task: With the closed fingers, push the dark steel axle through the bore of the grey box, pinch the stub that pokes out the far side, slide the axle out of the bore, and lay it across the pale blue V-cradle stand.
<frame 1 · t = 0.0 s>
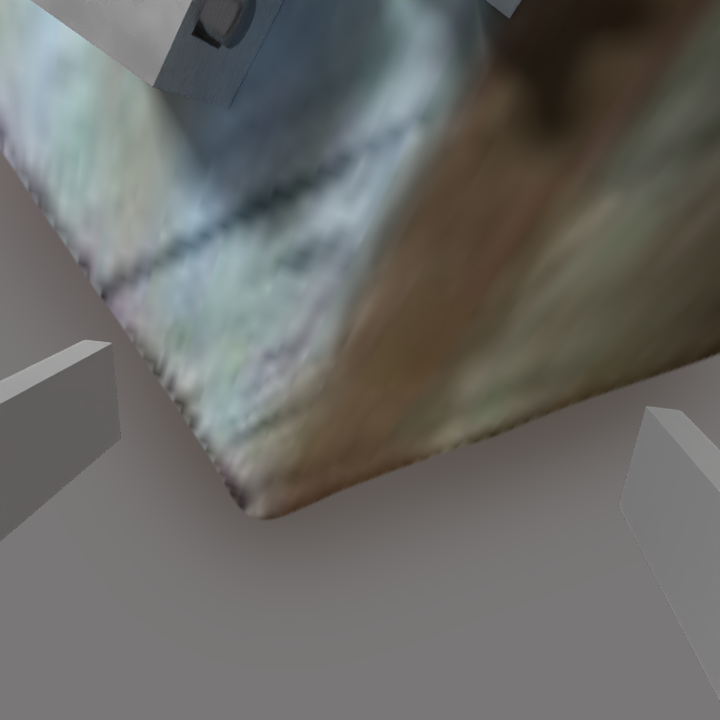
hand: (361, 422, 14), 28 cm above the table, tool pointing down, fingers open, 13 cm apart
grey box: (213, 1, 36), on the table
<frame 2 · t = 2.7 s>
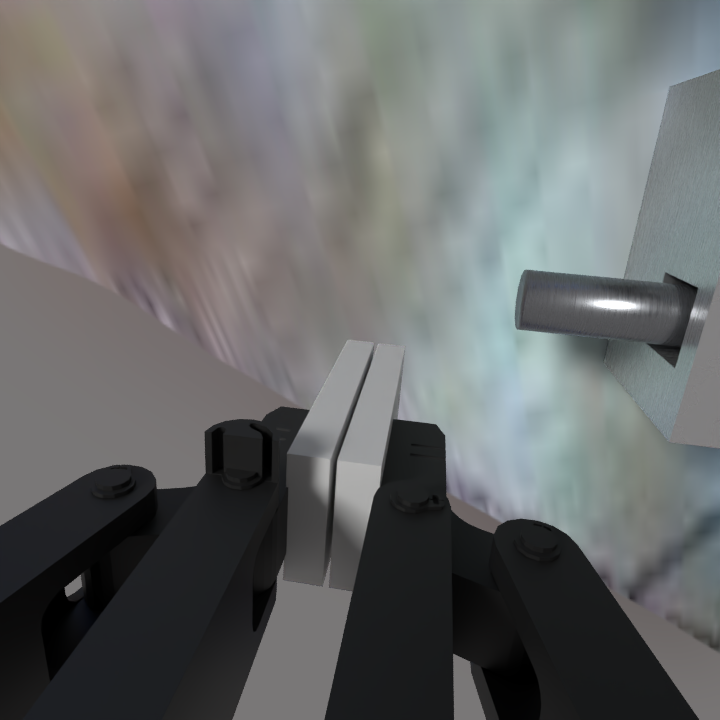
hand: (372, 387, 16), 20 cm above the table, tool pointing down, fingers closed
axle: (675, 310, 28), point 6 cm above the table, touching grey box
grey box: (690, 292, 33), on the table
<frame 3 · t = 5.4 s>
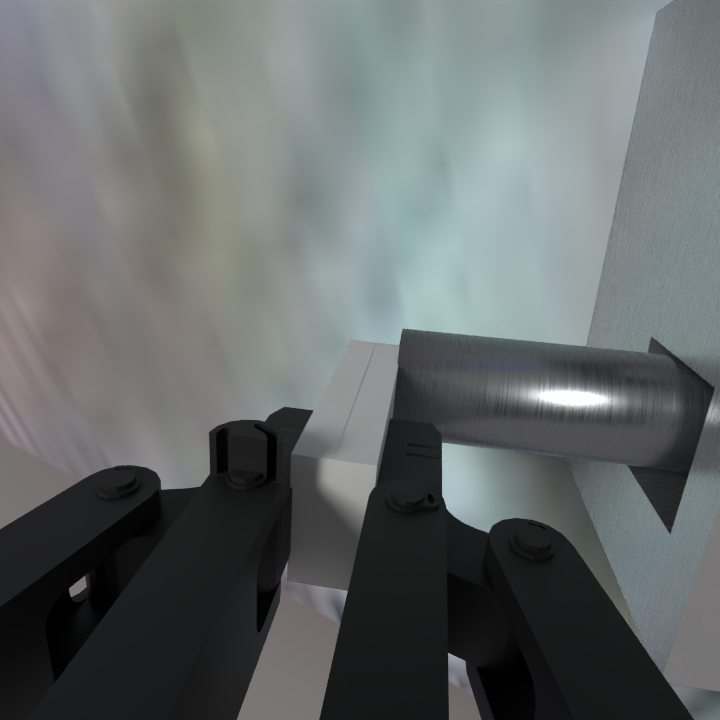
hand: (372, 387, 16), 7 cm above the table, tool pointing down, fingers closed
axle: (676, 403, 16), point 6 cm above the table, tilted 12°, touching gripper
grey box: (696, 350, 21), on the table
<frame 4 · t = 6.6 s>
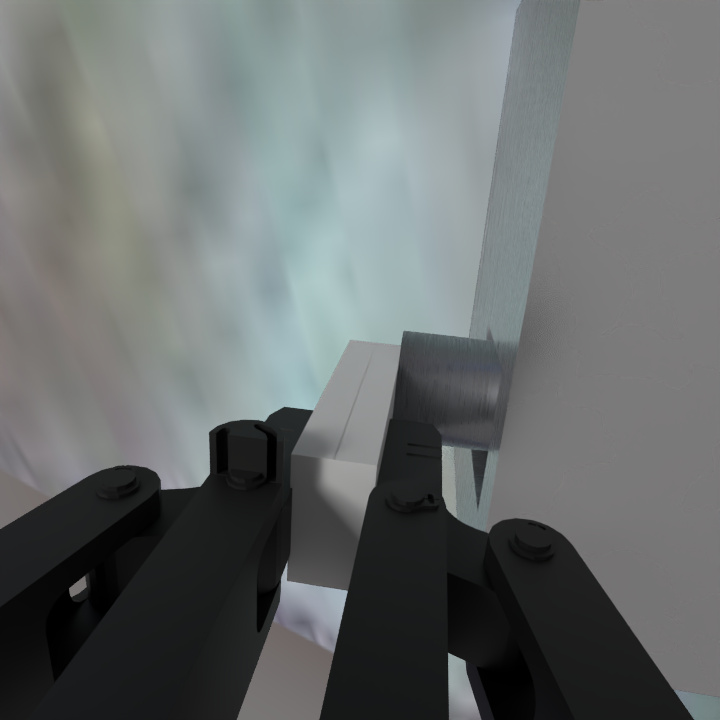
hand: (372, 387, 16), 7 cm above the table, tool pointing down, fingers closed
axle: (675, 409, 16), point 6 cm above the table, tilted 12°, touching gripper
grey box: (573, 342, 21), on the table
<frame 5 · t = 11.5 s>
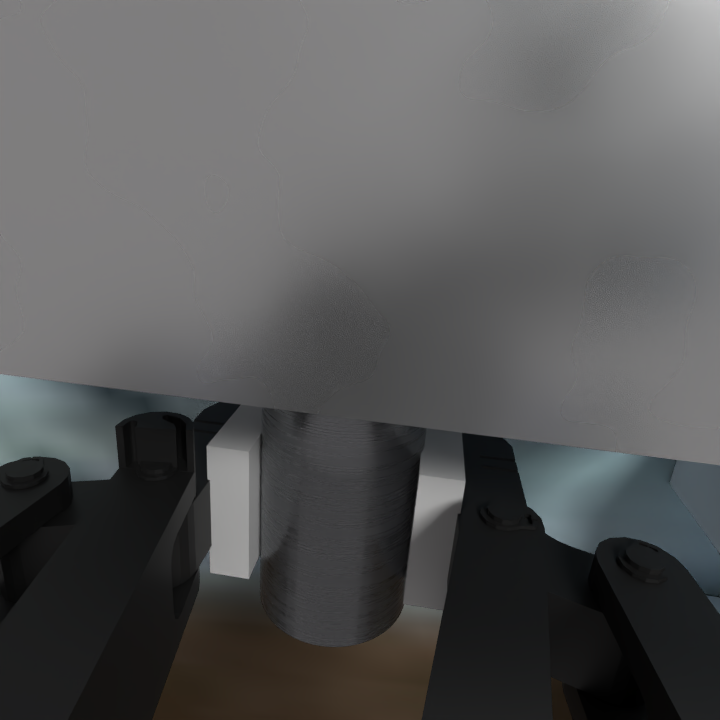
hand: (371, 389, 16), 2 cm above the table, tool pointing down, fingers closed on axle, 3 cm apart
axle: (366, 180, 10), point 6 cm above the table, touching grey box, gripper
grey box: (401, 107, 15), on the table
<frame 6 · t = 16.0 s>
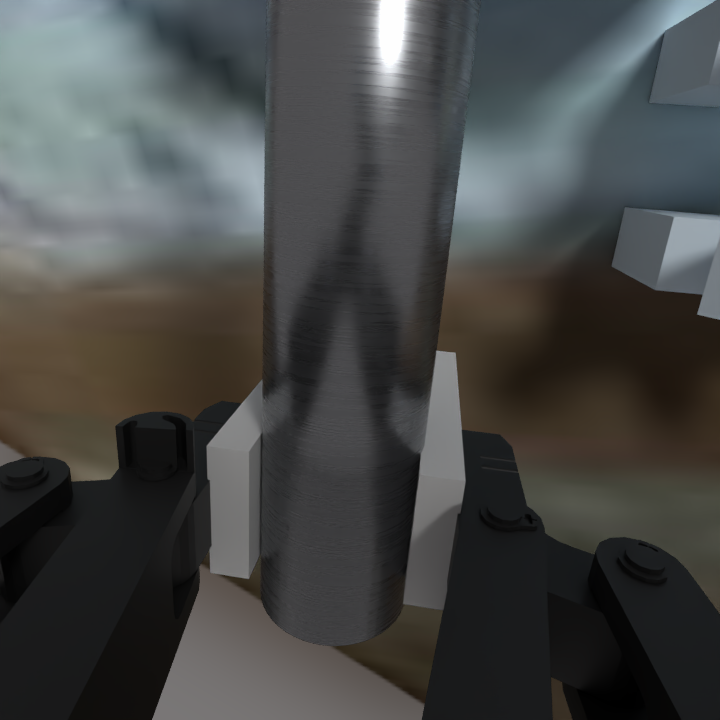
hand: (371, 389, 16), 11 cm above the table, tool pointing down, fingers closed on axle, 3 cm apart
axle: (366, 180, 10), point 15 cm above the table, touching gripper
when the fingers open (4 cm above the table, at t = 20.5 s): axle drops 1 cm, resting on v stand.
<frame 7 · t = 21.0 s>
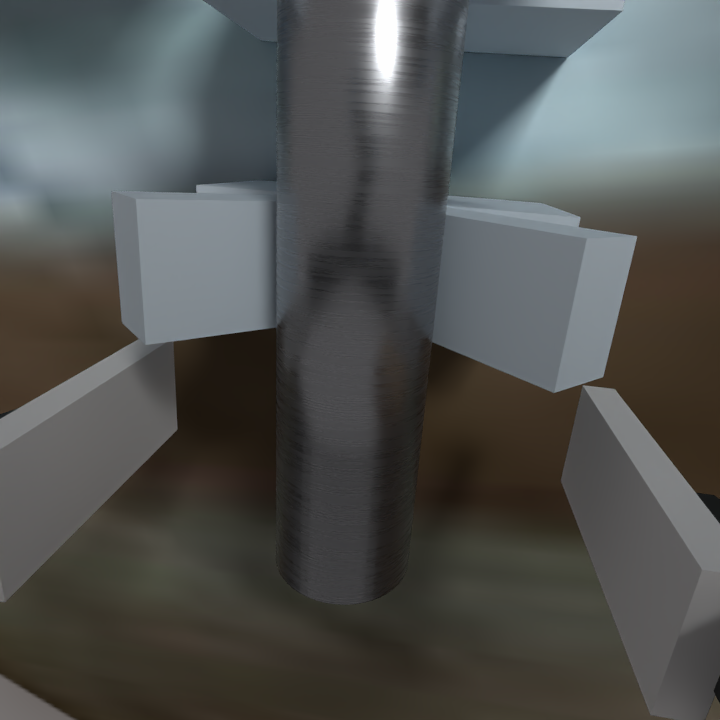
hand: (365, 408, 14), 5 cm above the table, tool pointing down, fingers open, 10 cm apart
axle: (377, 183, 11), point 7 cm above the table, touching v stand
v stand: (397, 182, 17), on the table
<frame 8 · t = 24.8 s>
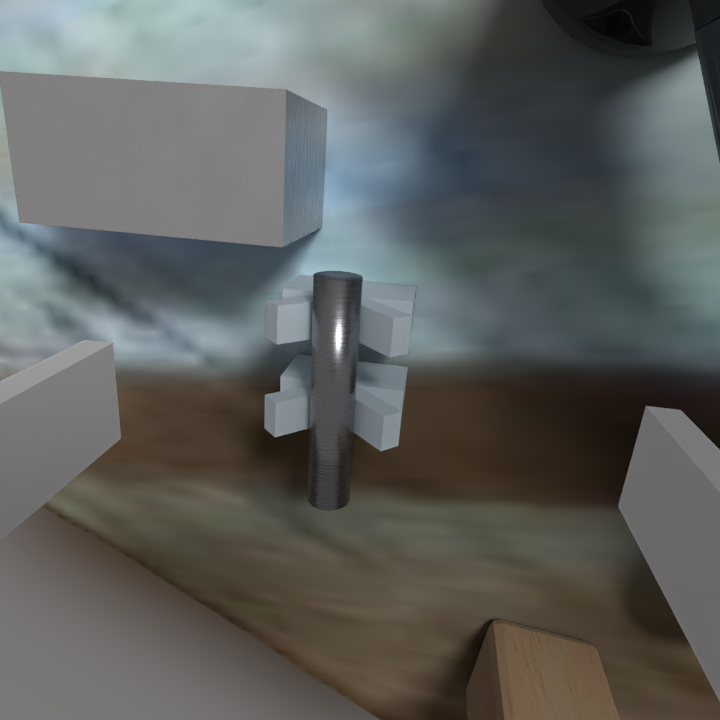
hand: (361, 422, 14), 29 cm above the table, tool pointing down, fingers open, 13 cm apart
wooden block: (527, 663, 52), on the table
axle: (338, 386, 37), point 7 cm above the table, touching v stand
v stand: (352, 357, 44), on the table
grey box: (178, 159, 40), on the table
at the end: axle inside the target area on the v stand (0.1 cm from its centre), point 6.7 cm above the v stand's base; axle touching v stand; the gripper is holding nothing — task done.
